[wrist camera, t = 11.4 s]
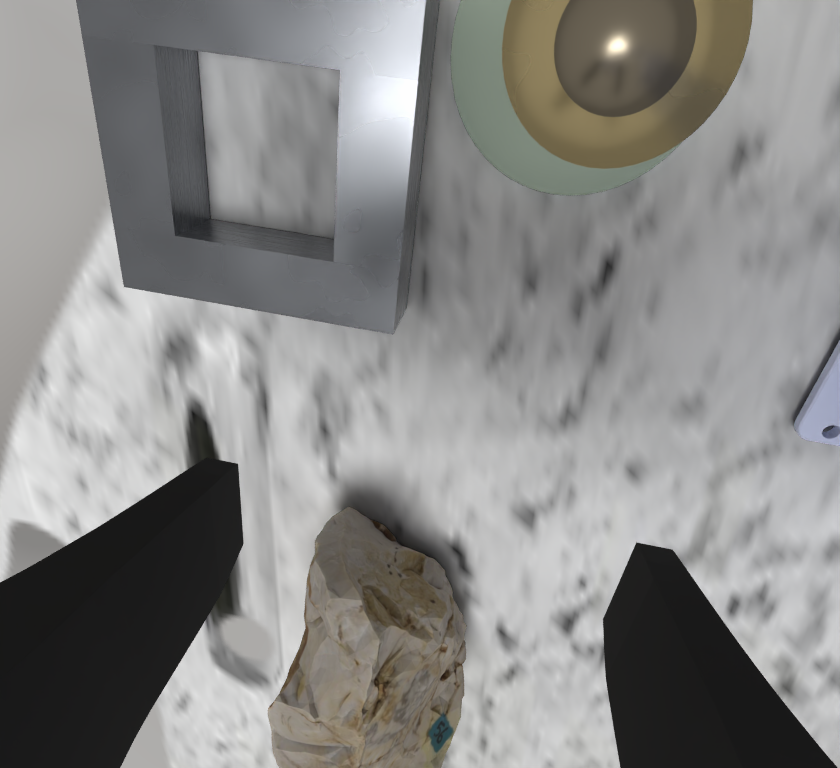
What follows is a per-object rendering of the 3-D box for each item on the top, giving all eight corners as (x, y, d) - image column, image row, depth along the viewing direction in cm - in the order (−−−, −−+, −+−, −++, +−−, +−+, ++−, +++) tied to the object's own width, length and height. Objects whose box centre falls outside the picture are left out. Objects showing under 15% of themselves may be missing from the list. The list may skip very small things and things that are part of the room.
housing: (440, -7, 15) (427, -18, 13) (406, 308, 19) (393, 334, 17) (122, -46, 15) (66, -61, 14) (162, 266, 20) (124, 286, 18)
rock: (469, 718, 29) (410, 934, 19) (351, 681, 30) (243, 862, 21) (499, 497, 26) (449, 619, 17) (369, 470, 28) (256, 566, 18)
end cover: (676, -22, 13) (806, -103, 7) (631, 138, 15) (703, 186, 9) (528, -39, 14) (528, -131, 8) (500, 120, 16) (482, 153, 9)
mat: (776, -100, 13) (782, -104, 12) (671, 209, 16) (675, 212, 16) (474, -131, 13) (472, -136, 13) (437, 174, 17) (435, 176, 17)
